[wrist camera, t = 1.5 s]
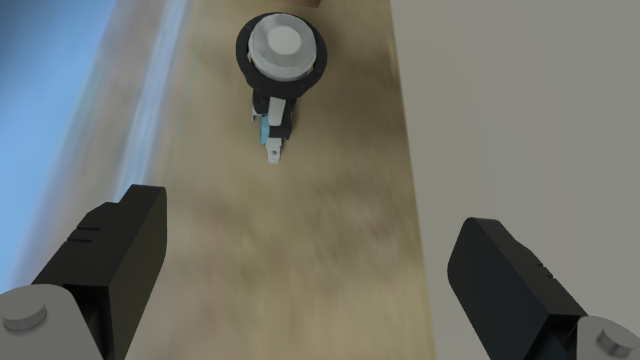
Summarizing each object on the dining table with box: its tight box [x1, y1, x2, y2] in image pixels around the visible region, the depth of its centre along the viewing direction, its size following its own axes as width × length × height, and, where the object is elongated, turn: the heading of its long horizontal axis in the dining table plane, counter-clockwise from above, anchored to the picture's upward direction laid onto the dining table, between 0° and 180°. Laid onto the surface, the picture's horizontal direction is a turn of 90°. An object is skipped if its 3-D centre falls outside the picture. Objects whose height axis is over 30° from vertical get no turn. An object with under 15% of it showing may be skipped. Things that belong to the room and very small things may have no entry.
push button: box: [236, 12, 327, 164], centre depth 27 cm, size 7×5×10 cm
